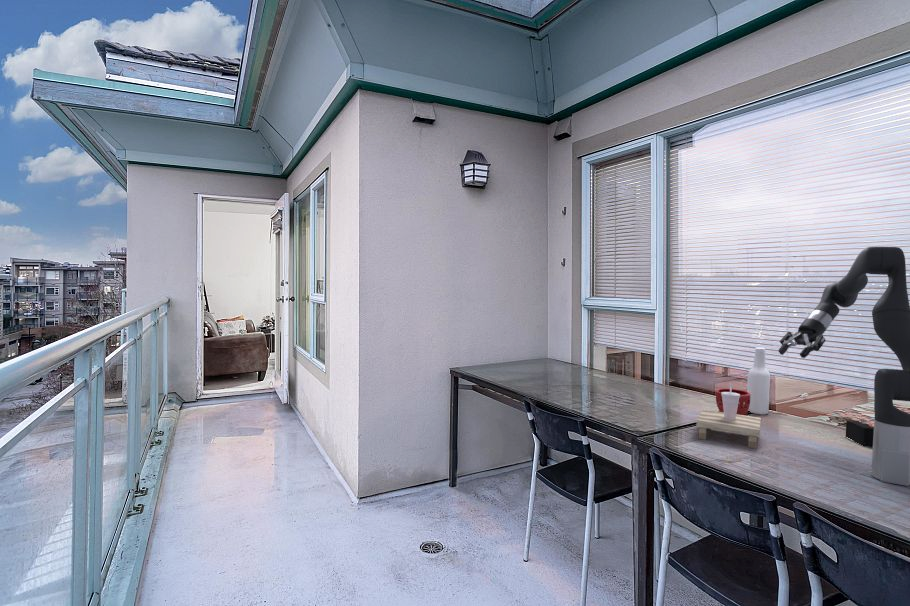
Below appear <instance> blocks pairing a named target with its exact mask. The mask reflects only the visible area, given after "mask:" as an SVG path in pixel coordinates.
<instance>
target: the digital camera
mask: <svg viewBox="0 0 910 606" xmlns="http://www.w3.org/2000/svg"><path fill="white" fill-rule="evenodd" d="M873 436H874V426H871V425H869V424H868V423H865V422H861V421H859V420H846V424H845V438H846V437H848V438H850V439H852V440H854V441H855V442H857V443H859V444H861V445H863V446H862V447H865V446H870V447H869V448H873ZM855 442H854V443H855ZM857 443H856V444H857ZM859 444H858V445H859ZM861 445H860V446H861Z"/></svg>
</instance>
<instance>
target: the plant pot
mask: <svg viewBox="0 0 910 606" xmlns="http://www.w3.org/2000/svg"><path fill="white" fill-rule="evenodd" d="M722 392H730V388H718V389H716V390H715V401H716V407H717V409H718V411H717V412H724V410H723V401H722V396H721V393H722ZM732 392H733V393H738V394H740V398H739V402H738V408H737V414H738V415H745V416H749V414H747V413H748V409H749V405H750V393H749V392H747V390H744V389H743V390H742V389H738V388H737V389H736V388H732Z"/></svg>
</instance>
